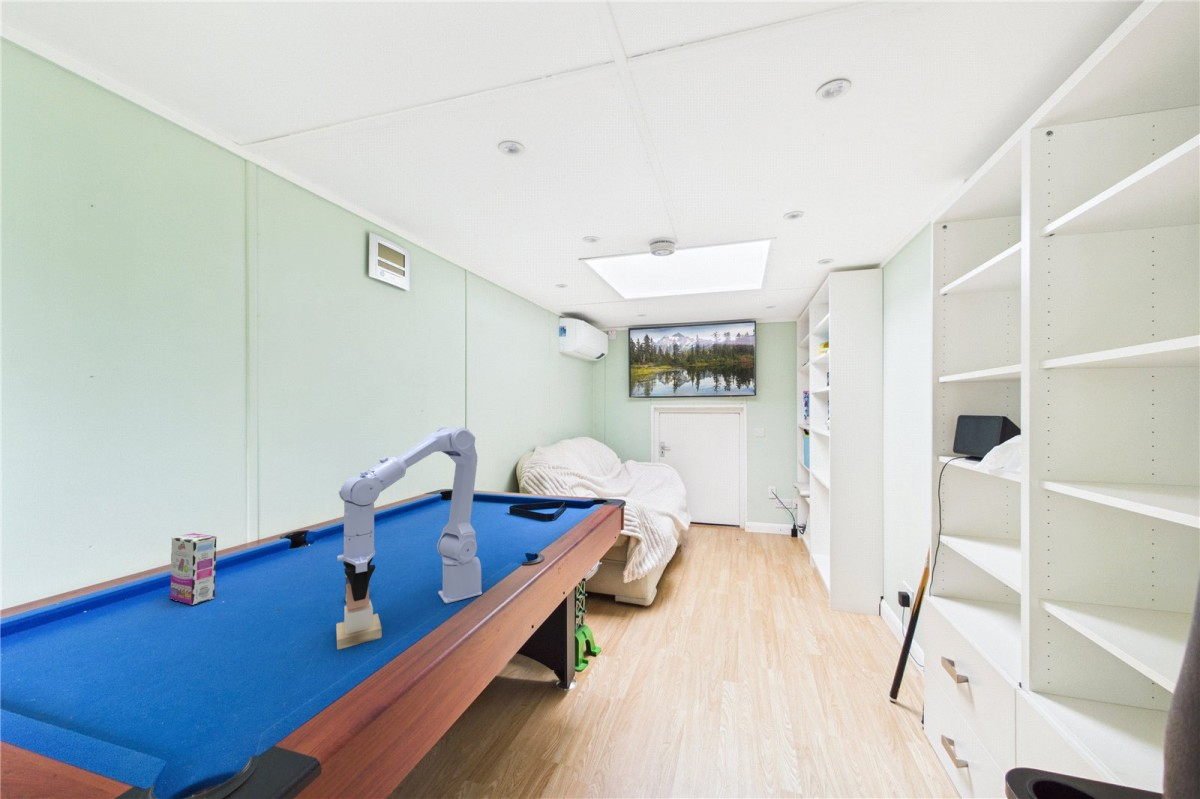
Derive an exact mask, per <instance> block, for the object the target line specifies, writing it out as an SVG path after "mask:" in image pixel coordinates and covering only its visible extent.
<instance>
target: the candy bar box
mask: <svg viewBox="0 0 1200 799" xmlns="http://www.w3.org/2000/svg"><path fill="white" fill-rule="evenodd" d="M170 562H171V563H170V584H169V585H170V587H169V588H170V590H169V599H170V598H172V599H174V600H177V601H181V602H183V603H182V604H184V603H187V604H186V605H188V604H190V605H189V606H191V605H194V604H197V605H199V604H198V603H200V604H202V603H201V602H203V603H205V602H204V601H206V602H209V601H208V600H210V601H212V600H214V599H215V598H216V564H217V536H215V535H214V536H213V535H208V534H207V535H206V534H203V533H202V534H201V533H195V532H193V533H187V534H184V535H179V536H174V537H171V555H170ZM211 599H212V600H211ZM194 606H195V605H194Z"/></svg>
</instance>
